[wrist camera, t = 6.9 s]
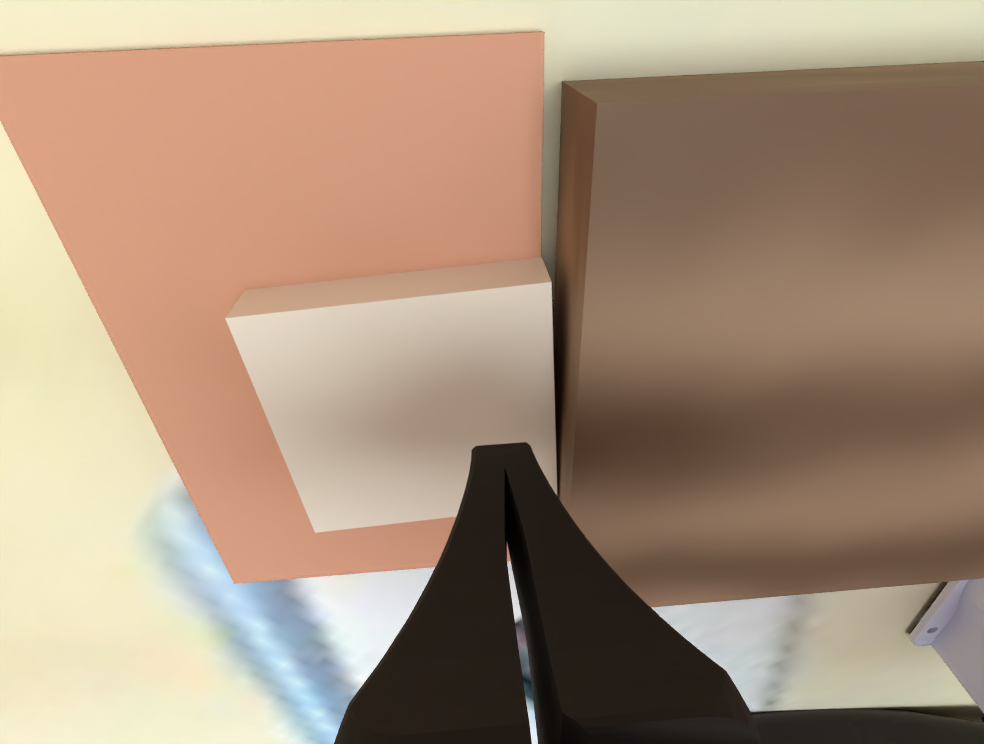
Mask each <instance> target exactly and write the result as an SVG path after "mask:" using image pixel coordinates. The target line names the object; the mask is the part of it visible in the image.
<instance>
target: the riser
mask: <svg viewBox="0 0 984 744" xmlns="http://www.w3.org/2000/svg"><path fill="white" fill-rule="evenodd" d="M553 356H554V392H555V429H556V466H557V497H558V498H559V500H560V501H561V503H562V504H563V506H564V507H565V509H566V510H567V512H568V513H569V515H570V516H571V518H572V519H573V520H574V522H575V523H576V525H577V526H578V527H579V529H580V530H581V531H582V533H583V534H584V535H585V537H586V538H587V539H588V540H589V542H590V543H591V544H592V546H593V547H594V548H595V549H596V550H597V552H598V553H599V554H600V555H601V556H602V557H603V559H604V560H605V561H606V562H607V563H608V564H609V566H610V567H611V568H612V569H613V570H614V571H615V572H616V573H617V574H618V575H619V577H620V578H621V579H622V580H623V581H624V582H625V583H626V584H627V585H628V586H629V587H630V588H631V589H632V590H633V591H634V592H635V593H636V594H637V595H638V596H639V597H640V598H641V599H642V600H643V601H644V602H645V603H646V604H647V605H648V606H650V607H661V606H672V605H684V604H695V603H707V602H718V601H730V600H741V599H753V598H764V597H776V596H787V595H799V594H810V593H822V592H834V591H845V590H857V589H868V588H880V587H891V586H903V585H914V584H926V583H937V582H949V581H960V580H972V579H983V578H984V61H977V62H956V63H935V64H914V65H894V66H873V67H852V68H831V69H811V70H790V71H769V72H749V73H728V74H707V75H686V76H666V77H645V78H624V79H603V80H583V81H562V105H561V135H560V164H559V193H558V223H557V252H556V282H555V311H554V340H553Z"/></svg>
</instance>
